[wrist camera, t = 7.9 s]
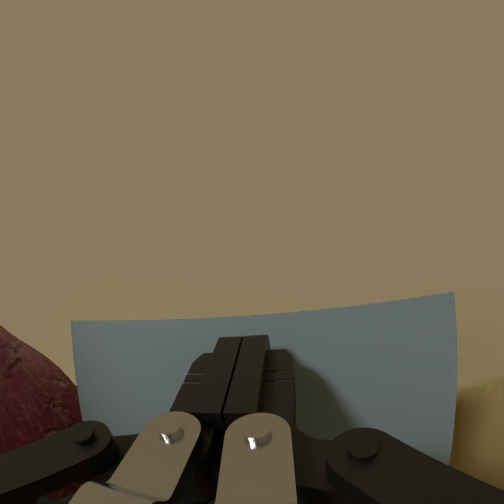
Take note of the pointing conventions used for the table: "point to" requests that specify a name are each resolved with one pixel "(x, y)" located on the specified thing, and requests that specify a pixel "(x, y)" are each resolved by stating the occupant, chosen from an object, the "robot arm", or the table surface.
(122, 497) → the robot arm
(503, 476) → the table surface
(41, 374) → the vegetable
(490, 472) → the table surface
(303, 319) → the panel
